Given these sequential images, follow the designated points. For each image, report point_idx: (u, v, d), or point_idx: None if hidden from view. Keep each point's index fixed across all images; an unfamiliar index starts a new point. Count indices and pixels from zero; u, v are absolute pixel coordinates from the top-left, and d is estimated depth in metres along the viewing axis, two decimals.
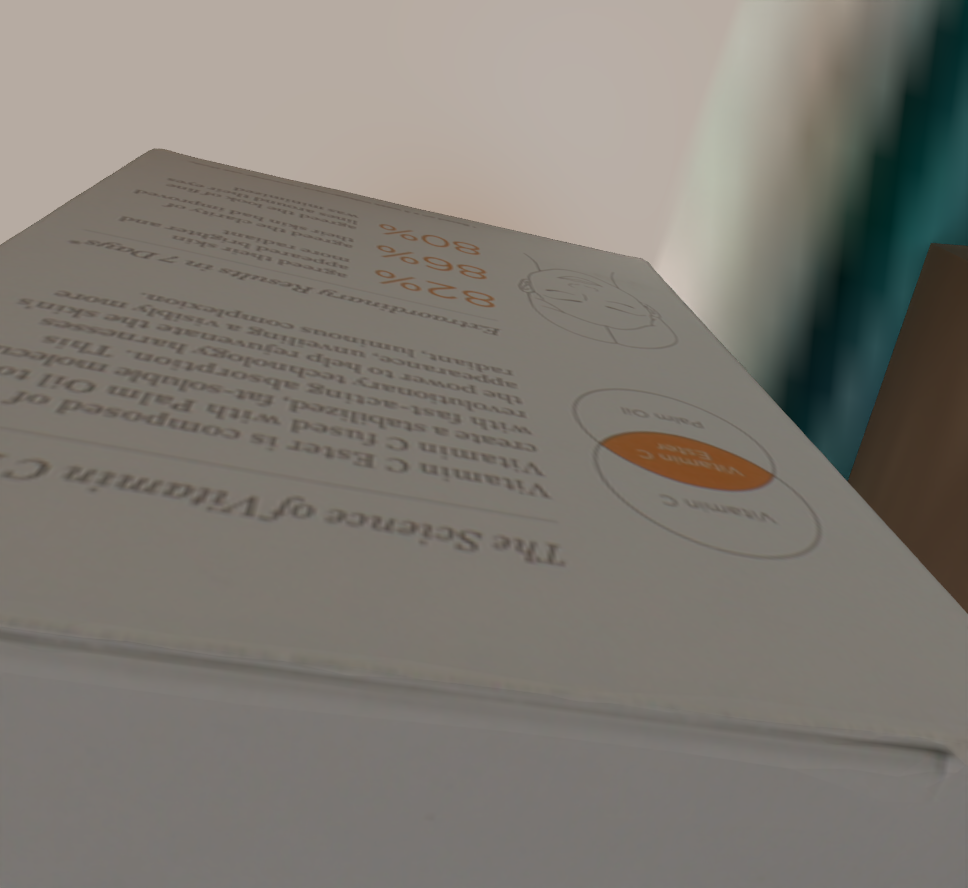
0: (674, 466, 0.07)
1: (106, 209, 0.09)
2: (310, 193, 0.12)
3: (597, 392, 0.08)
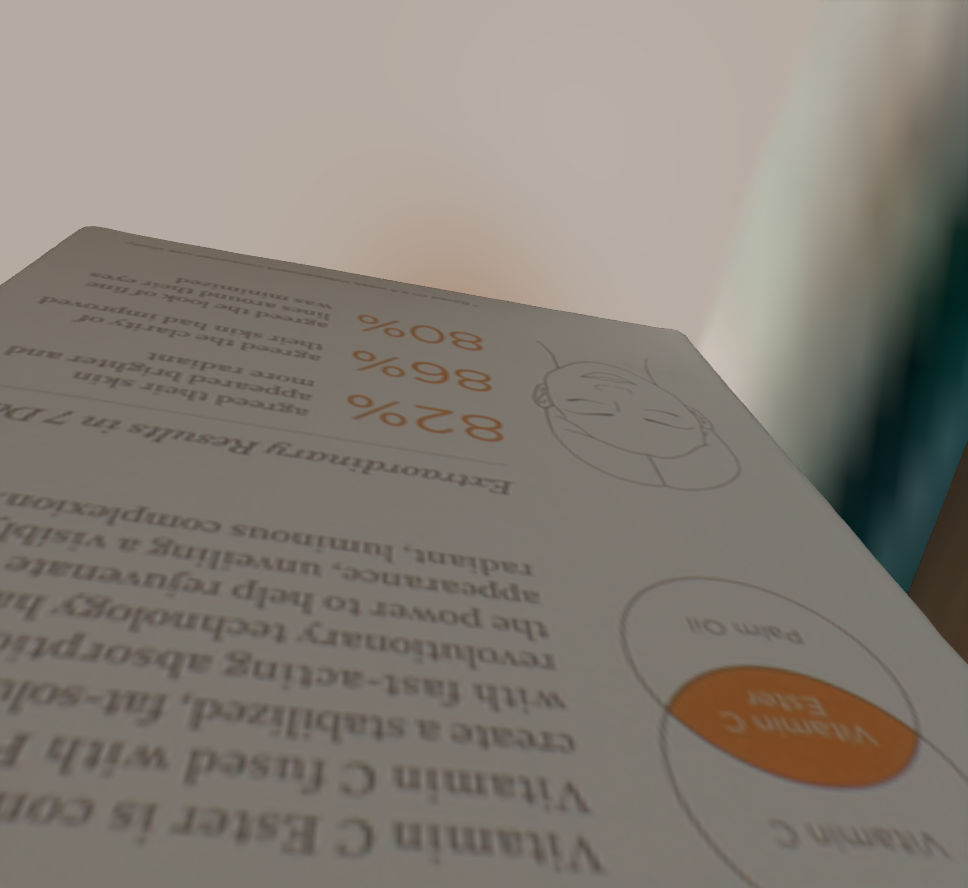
0: (780, 742, 0.05)
1: None
2: (274, 276, 0.10)
3: (650, 590, 0.06)
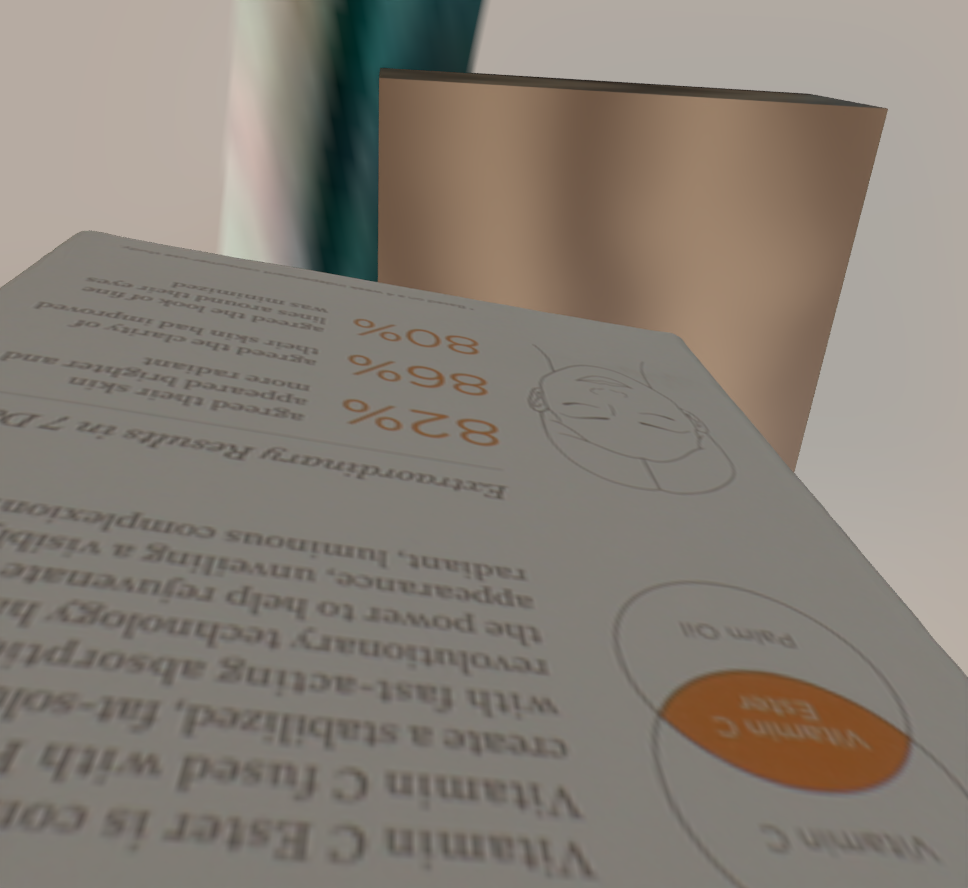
0: (771, 745, 0.05)
1: None
2: (270, 280, 0.10)
3: (643, 594, 0.06)
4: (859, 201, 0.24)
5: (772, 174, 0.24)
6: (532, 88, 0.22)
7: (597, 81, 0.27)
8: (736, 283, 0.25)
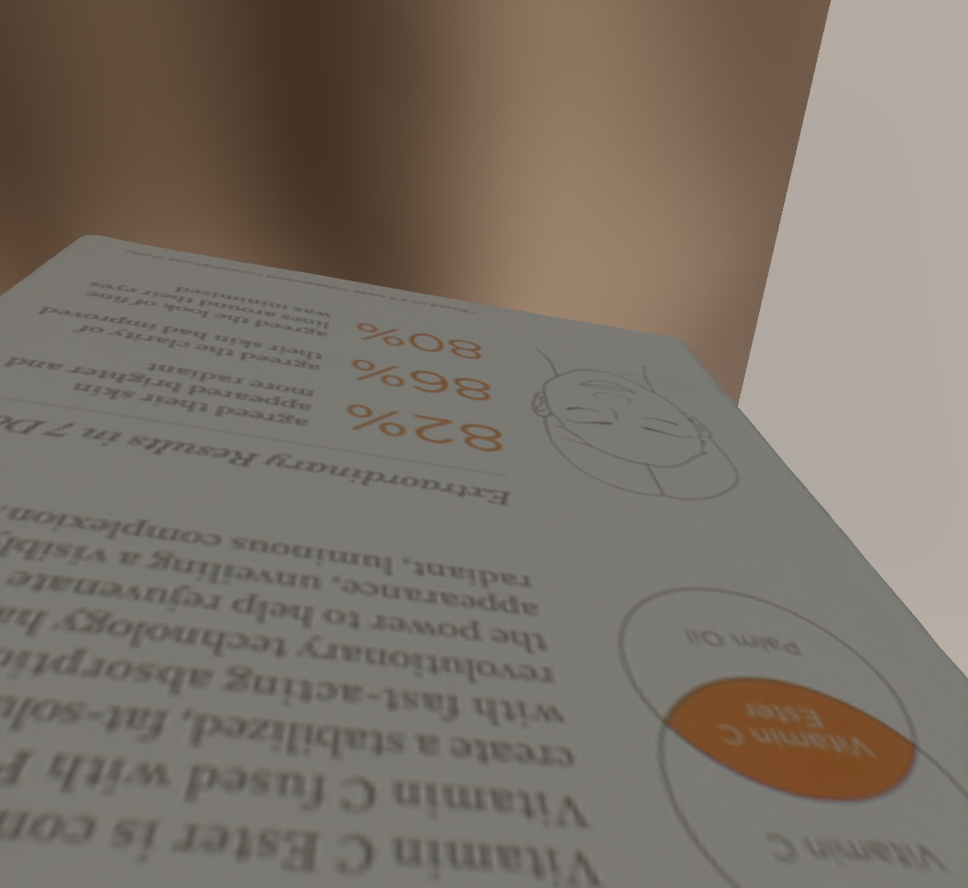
0: (778, 754, 0.05)
1: None
2: (273, 284, 0.10)
3: (648, 602, 0.06)
4: (793, 128, 0.14)
5: (639, 77, 0.14)
6: None
7: None
8: (591, 266, 0.15)
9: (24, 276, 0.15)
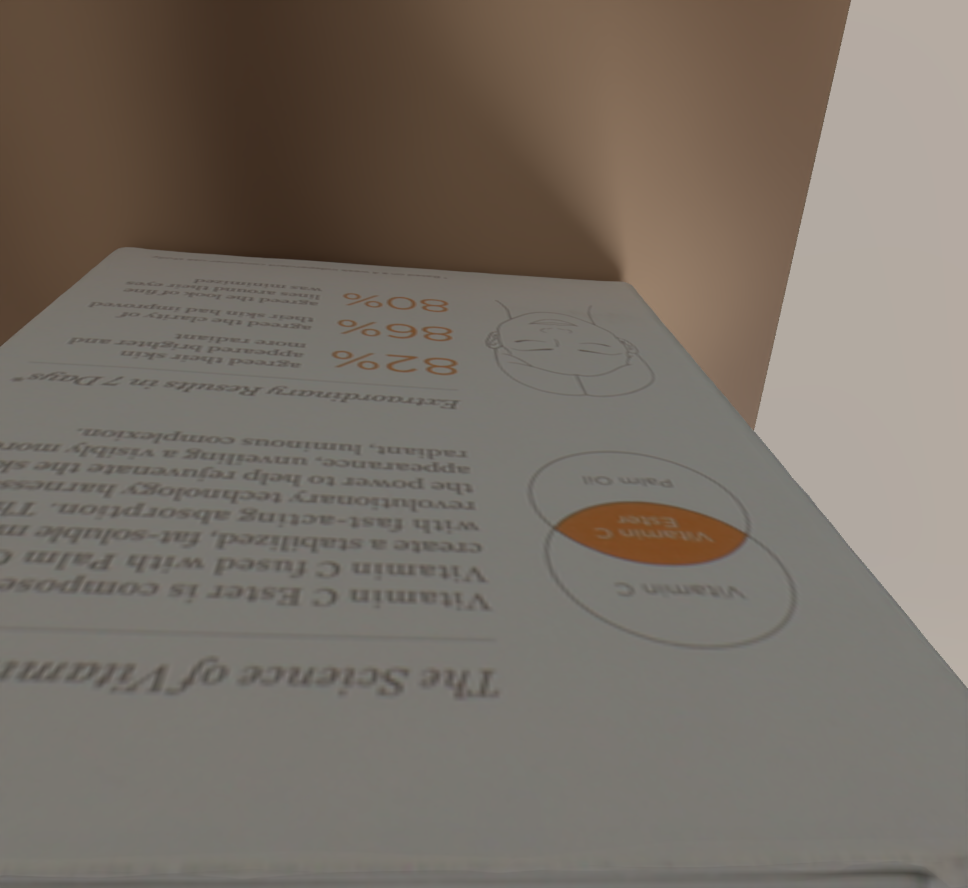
0: (635, 542, 0.06)
1: (57, 331, 0.09)
2: (274, 270, 0.12)
3: (557, 460, 0.08)
4: (807, 152, 0.13)
5: (632, 96, 0.12)
6: None
7: None
8: None
9: None
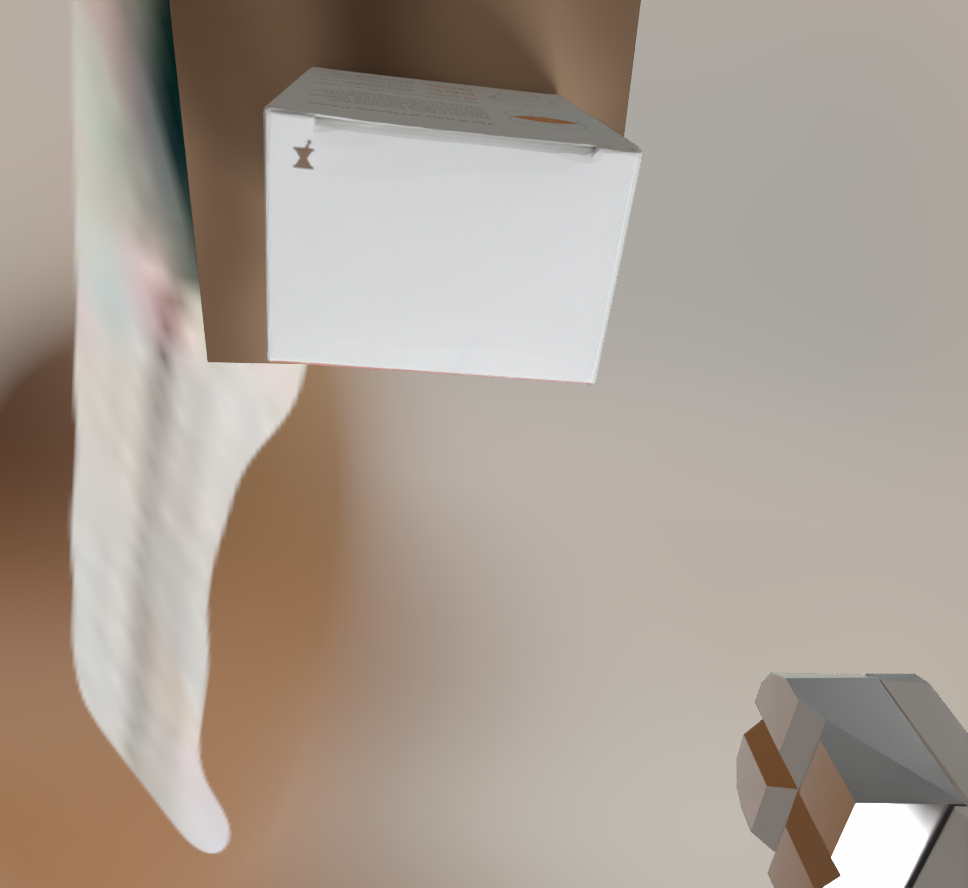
0: (538, 119, 0.20)
1: (315, 77, 0.22)
2: (389, 76, 0.25)
3: (515, 111, 0.21)
4: (633, 24, 0.26)
5: None
6: None
7: None
8: None
9: (204, 114, 0.26)
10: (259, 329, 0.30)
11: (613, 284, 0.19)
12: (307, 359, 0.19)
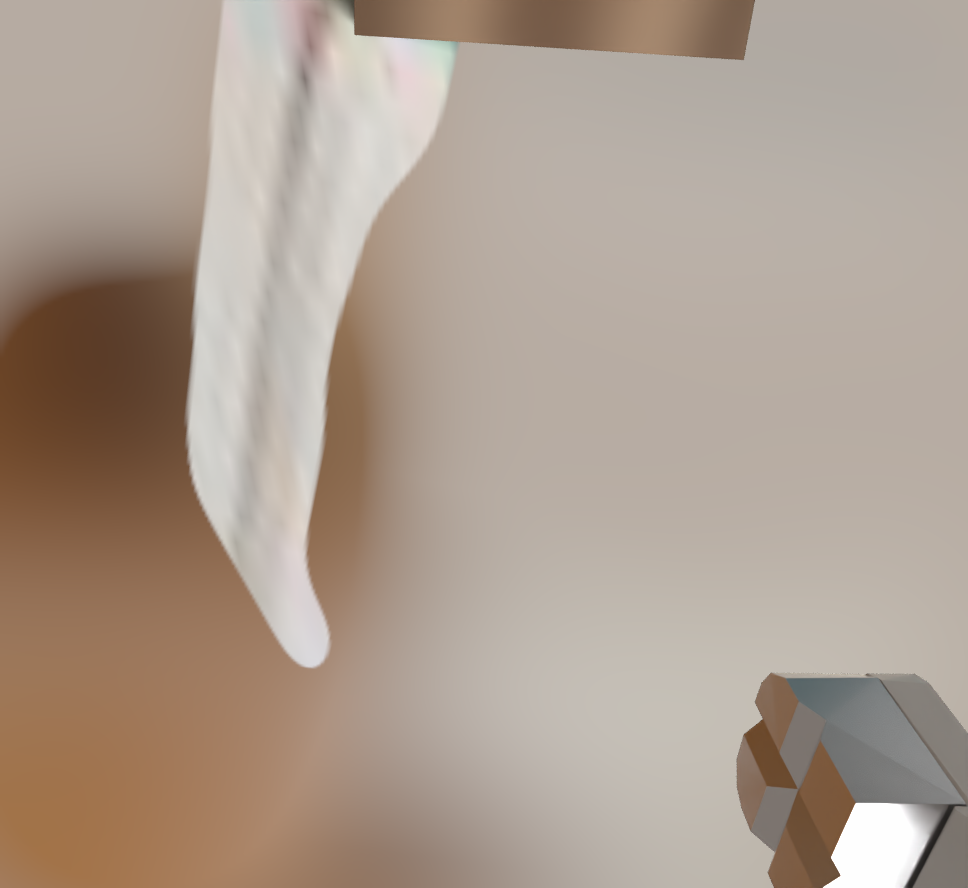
0: None
1: None
2: None
3: None
4: None
5: None
6: None
7: None
8: None
9: None
10: None
11: None
12: None
